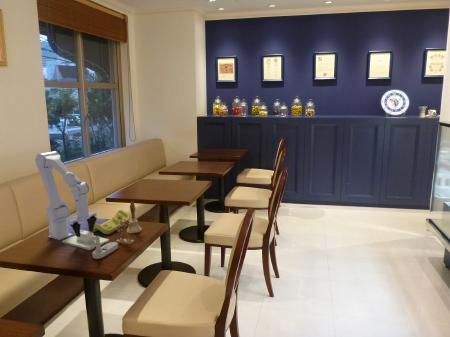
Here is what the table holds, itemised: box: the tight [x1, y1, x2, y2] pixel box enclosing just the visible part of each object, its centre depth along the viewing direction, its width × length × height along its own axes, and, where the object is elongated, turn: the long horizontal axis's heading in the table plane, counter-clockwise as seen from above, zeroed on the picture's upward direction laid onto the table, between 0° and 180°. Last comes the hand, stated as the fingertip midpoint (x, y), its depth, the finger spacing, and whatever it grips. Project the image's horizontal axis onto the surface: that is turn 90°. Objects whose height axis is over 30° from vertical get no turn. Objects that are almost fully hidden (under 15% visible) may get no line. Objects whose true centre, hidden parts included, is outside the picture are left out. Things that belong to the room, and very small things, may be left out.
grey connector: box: [77, 229, 95, 243], centre depth 184 cm, size 13×4×4 cm, turn 59°
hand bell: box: [127, 200, 143, 234], centre depth 198 cm, size 8×8×16 cm
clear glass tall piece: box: [115, 219, 136, 246], centre depth 182 cm, size 9×4×12 cm, turn 69°
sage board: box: [62, 235, 110, 251], centre depth 185 cm, size 20×12×1 cm, turn 58°
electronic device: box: [91, 235, 119, 260], centre depth 171 cm, size 5×10×15 cm
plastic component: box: [93, 209, 130, 235], centre depth 204 cm, size 20×7×10 cm
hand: (84, 233), depth 184 cm, fingers open, 7 cm apart
